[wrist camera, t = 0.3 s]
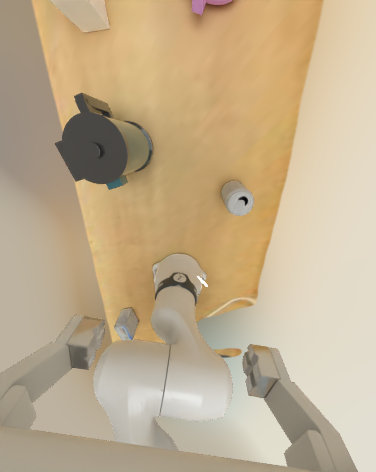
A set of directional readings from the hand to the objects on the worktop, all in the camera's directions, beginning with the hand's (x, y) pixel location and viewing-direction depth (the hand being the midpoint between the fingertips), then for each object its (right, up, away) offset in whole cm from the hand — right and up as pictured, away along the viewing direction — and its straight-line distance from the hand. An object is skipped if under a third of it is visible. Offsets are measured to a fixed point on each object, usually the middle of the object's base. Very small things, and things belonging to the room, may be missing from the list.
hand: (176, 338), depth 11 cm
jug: (-15, +29, +39) cm, 51 cm away
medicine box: (-23, -26, +67) cm, 75 cm away
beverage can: (+13, +18, +43) cm, 49 cm away
